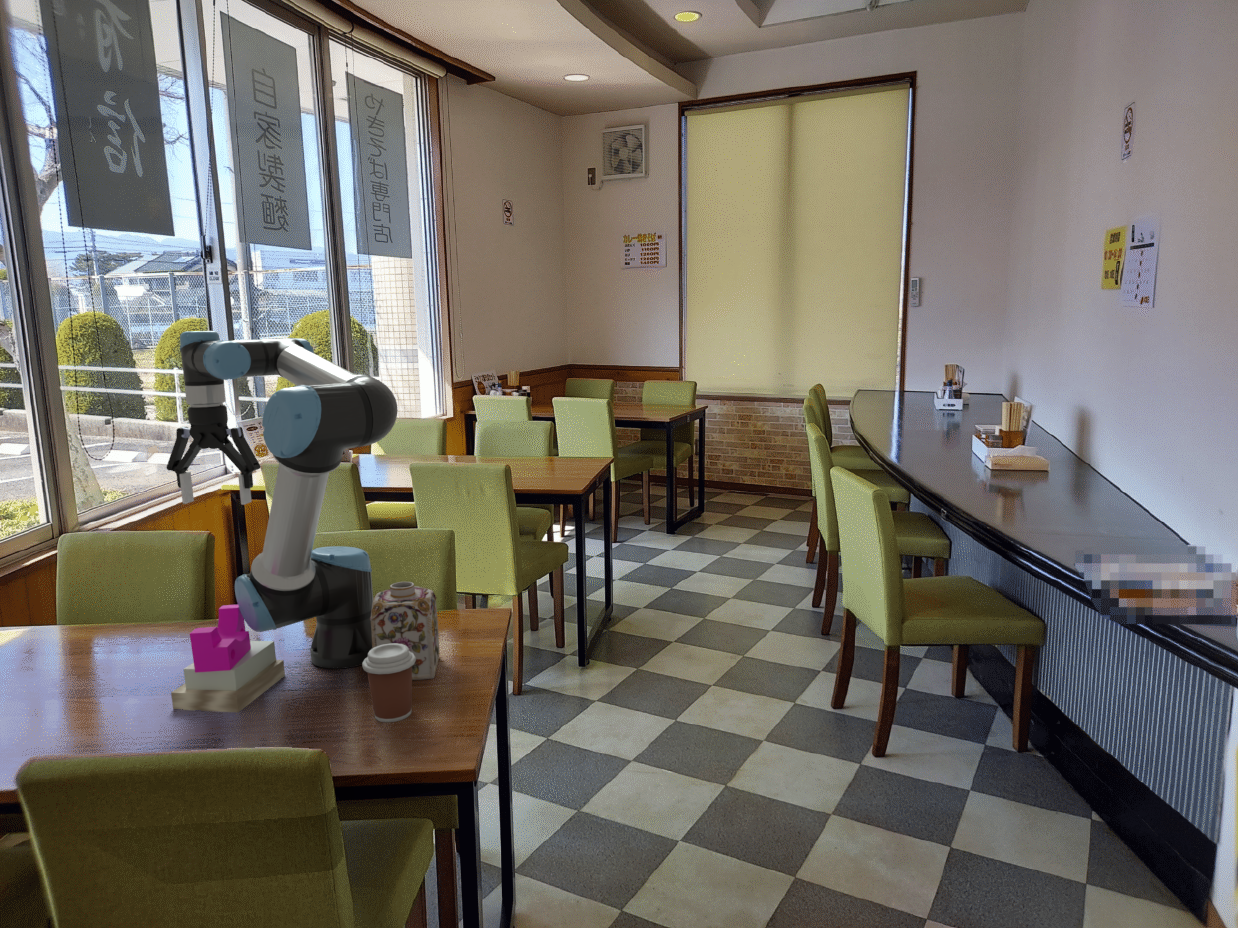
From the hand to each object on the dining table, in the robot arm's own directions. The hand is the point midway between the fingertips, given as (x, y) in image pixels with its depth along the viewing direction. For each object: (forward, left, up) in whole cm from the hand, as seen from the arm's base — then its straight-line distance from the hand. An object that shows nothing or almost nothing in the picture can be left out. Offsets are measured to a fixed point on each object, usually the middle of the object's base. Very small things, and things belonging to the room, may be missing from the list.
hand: (217, 502), depth 182 cm
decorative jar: (-46, +10, -32) cm, 57 cm away
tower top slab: (-15, +23, -29) cm, 40 cm away
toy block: (-15, +23, -25) cm, 37 cm away
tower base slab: (-15, +23, -33) cm, 43 cm away
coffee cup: (-51, +29, -32) cm, 67 cm away
